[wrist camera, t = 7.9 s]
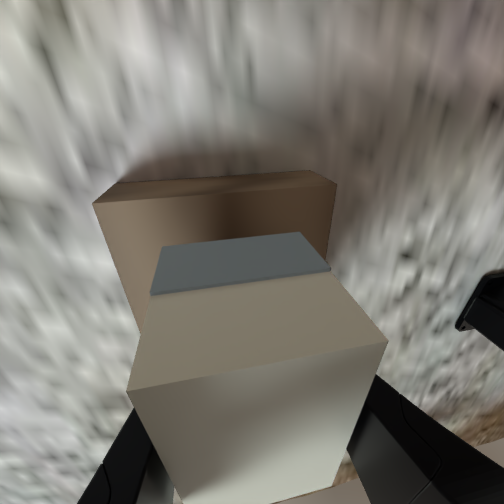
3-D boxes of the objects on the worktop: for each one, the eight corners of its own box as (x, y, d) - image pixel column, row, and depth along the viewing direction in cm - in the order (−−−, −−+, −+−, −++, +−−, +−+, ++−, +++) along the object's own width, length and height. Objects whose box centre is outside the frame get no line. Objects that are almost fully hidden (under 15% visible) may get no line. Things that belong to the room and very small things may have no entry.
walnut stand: (309, 170, 13) (337, 184, 11) (296, 306, 18) (313, 337, 16) (115, 183, 12) (91, 203, 9) (159, 328, 17) (153, 367, 14)
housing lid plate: (330, 271, 7) (388, 340, 5) (305, 414, 11) (331, 486, 9) (150, 296, 6) (126, 391, 4) (194, 439, 10) (194, 525, 8)
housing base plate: (299, 231, 9) (331, 267, 7) (288, 364, 13) (305, 412, 11) (162, 246, 8) (149, 292, 6) (194, 382, 12) (194, 438, 10)
